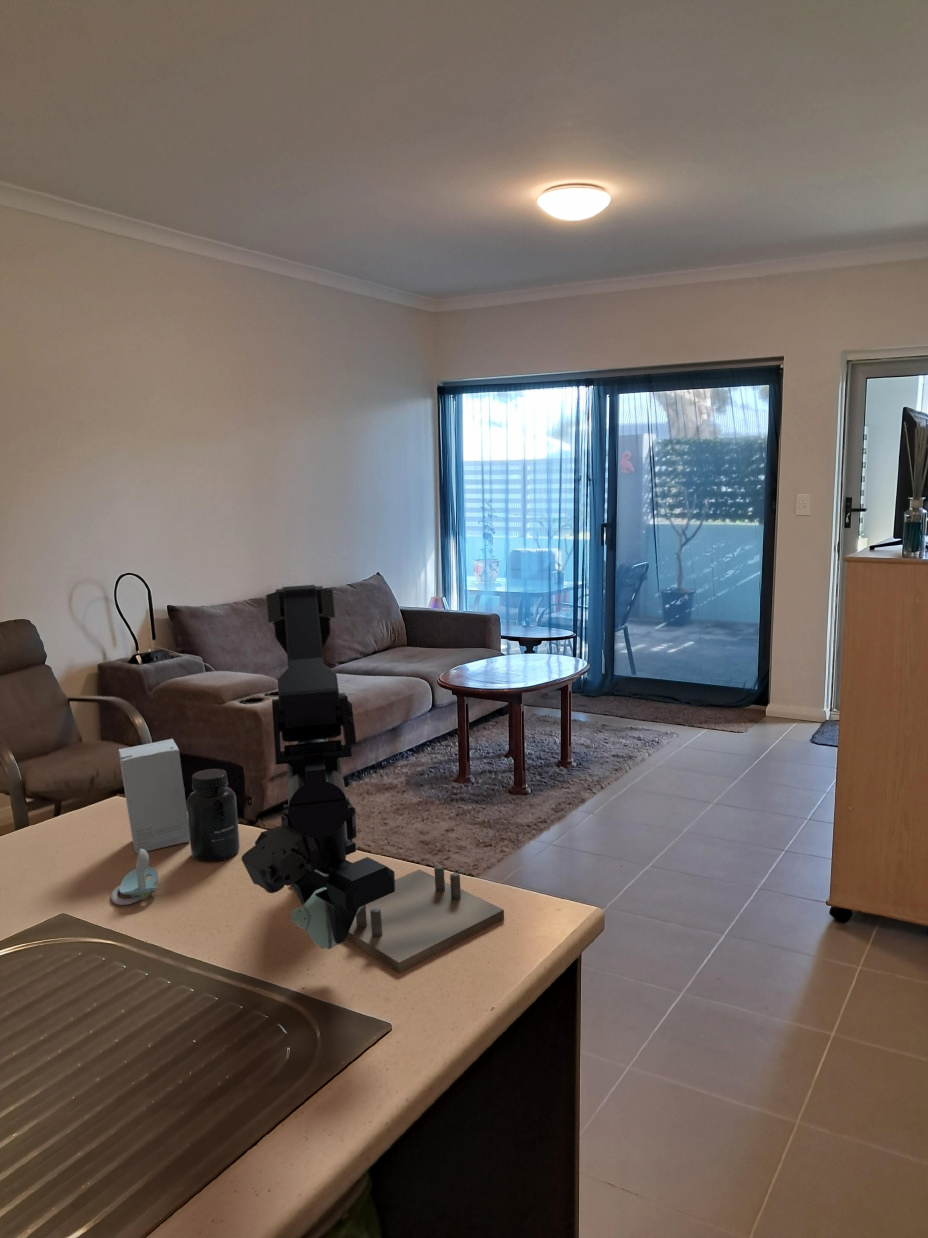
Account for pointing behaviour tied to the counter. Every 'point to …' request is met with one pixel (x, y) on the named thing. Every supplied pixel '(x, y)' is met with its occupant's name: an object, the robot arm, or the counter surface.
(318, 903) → the grey-green curved shell
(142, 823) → the skincare box
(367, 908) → the pin tray
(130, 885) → the pacifier
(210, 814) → the supplement bottle
